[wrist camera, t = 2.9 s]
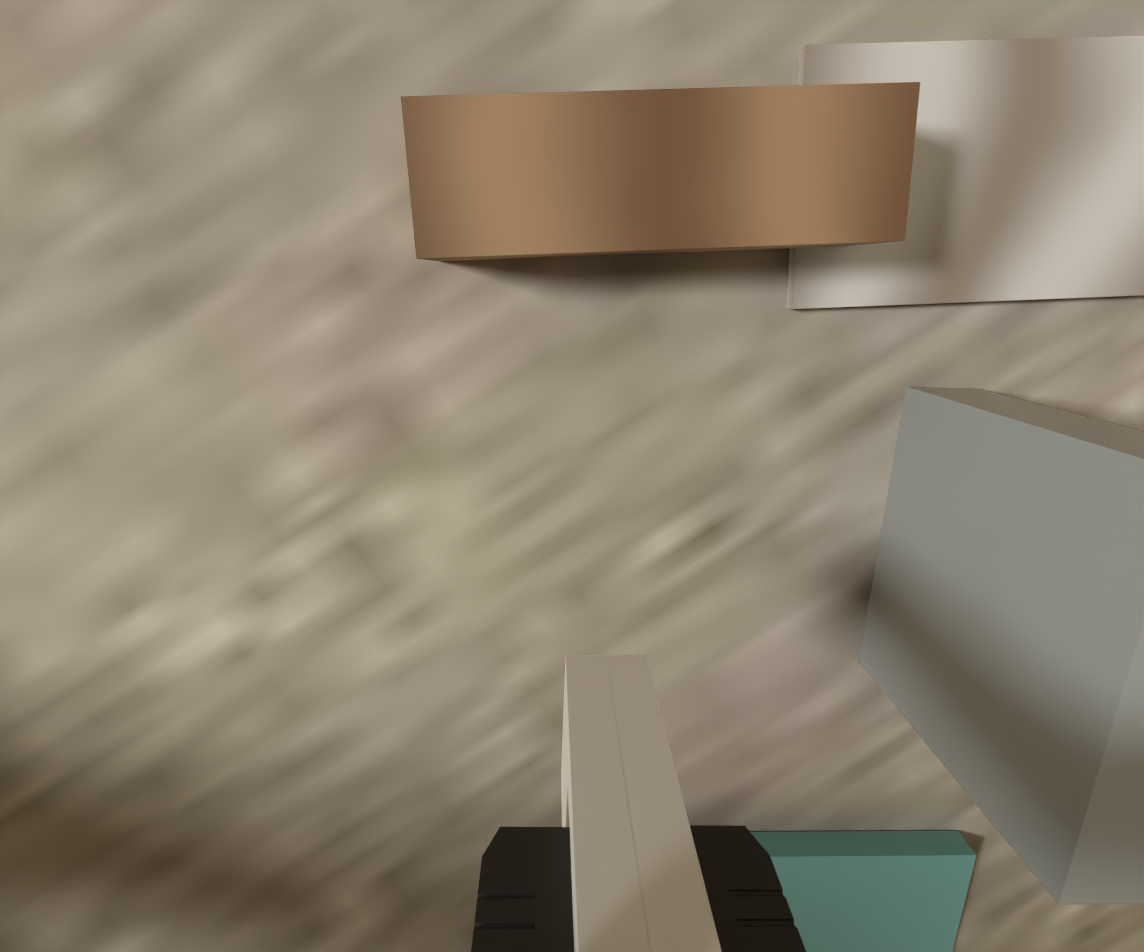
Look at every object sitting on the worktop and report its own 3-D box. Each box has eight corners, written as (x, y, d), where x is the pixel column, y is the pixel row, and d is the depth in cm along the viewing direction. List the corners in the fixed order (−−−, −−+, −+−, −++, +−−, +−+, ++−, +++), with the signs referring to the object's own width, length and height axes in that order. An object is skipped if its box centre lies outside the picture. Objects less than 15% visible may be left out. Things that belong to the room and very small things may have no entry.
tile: (858, 661, 25) (1058, 904, 15) (905, 386, 22) (1187, 472, 12) (930, 661, 25) (1174, 903, 15) (987, 388, 22) (1328, 476, 13)
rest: (548, 1006, 29) (548, 1064, 27) (554, 832, 26) (555, 881, 24) (917, 999, 30) (946, 1055, 28) (958, 830, 27) (993, 877, 25)
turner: (444, 321, 21) (423, 331, 17) (422, 61, 19) (392, 7, 15) (1130, 294, 22) (1258, 299, 18) (1178, 41, 20) (1334, -15, 16)
